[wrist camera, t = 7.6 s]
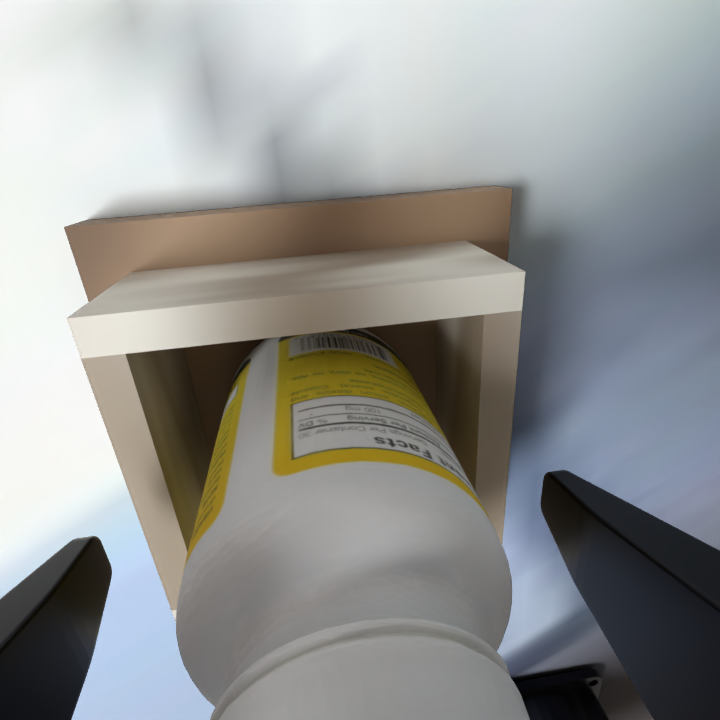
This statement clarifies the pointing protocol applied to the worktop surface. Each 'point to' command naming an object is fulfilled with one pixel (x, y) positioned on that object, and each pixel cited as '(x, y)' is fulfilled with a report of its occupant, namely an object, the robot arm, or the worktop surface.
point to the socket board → (293, 327)
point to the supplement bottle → (342, 550)
